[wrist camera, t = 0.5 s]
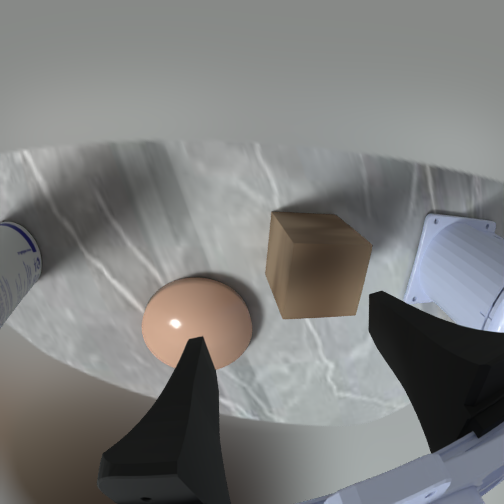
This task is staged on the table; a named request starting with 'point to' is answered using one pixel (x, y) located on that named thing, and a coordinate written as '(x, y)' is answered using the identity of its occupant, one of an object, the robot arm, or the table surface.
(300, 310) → the walnut block
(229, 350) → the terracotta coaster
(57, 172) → the table surface
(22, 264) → the energy drink
